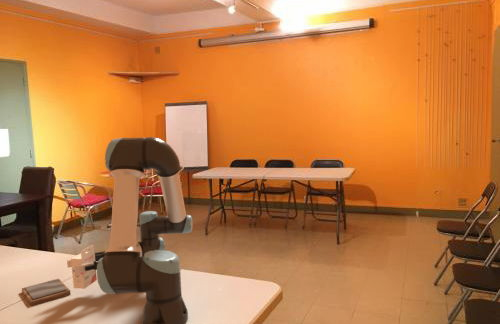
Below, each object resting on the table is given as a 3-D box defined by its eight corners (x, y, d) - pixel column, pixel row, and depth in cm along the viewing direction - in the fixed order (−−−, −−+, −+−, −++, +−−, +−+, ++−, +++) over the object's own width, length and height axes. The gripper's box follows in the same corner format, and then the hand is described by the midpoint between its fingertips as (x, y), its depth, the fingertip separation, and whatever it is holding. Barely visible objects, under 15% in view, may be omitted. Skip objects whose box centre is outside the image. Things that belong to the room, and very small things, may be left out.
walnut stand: (70, 294, 164) (70, 289, 164) (31, 305, 155) (30, 300, 155) (59, 282, 176) (58, 277, 176) (22, 292, 167) (21, 287, 167)
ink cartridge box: (85, 279, 166) (83, 243, 164) (97, 280, 165) (94, 244, 163) (72, 288, 158) (69, 250, 156) (84, 289, 157) (81, 251, 155)
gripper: (140, 269, 164) (81, 284, 150) (118, 256, 180) (63, 269, 166) (139, 250, 163) (79, 264, 149) (117, 239, 180) (62, 251, 165)
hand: (71, 267), depth 157 cm, fingers closed on ink cartridge box, 9 cm apart
